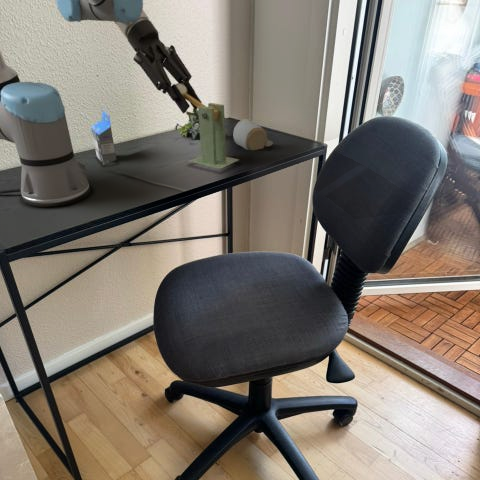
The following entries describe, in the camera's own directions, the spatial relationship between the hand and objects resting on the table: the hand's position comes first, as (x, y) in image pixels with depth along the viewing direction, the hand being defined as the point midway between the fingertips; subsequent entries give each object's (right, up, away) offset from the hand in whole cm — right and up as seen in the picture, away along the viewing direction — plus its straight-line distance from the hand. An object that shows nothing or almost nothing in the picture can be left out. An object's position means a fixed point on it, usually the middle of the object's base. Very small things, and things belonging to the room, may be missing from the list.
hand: (192, 107), depth 122 cm
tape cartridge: (-25, -11, +10) cm, 29 cm away
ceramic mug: (+16, -5, +16) cm, 23 cm away
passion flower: (0, 0, +23) cm, 23 cm away
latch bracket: (+5, -13, +5) cm, 15 cm away
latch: (0, 0, 0) cm, 0 cm away
